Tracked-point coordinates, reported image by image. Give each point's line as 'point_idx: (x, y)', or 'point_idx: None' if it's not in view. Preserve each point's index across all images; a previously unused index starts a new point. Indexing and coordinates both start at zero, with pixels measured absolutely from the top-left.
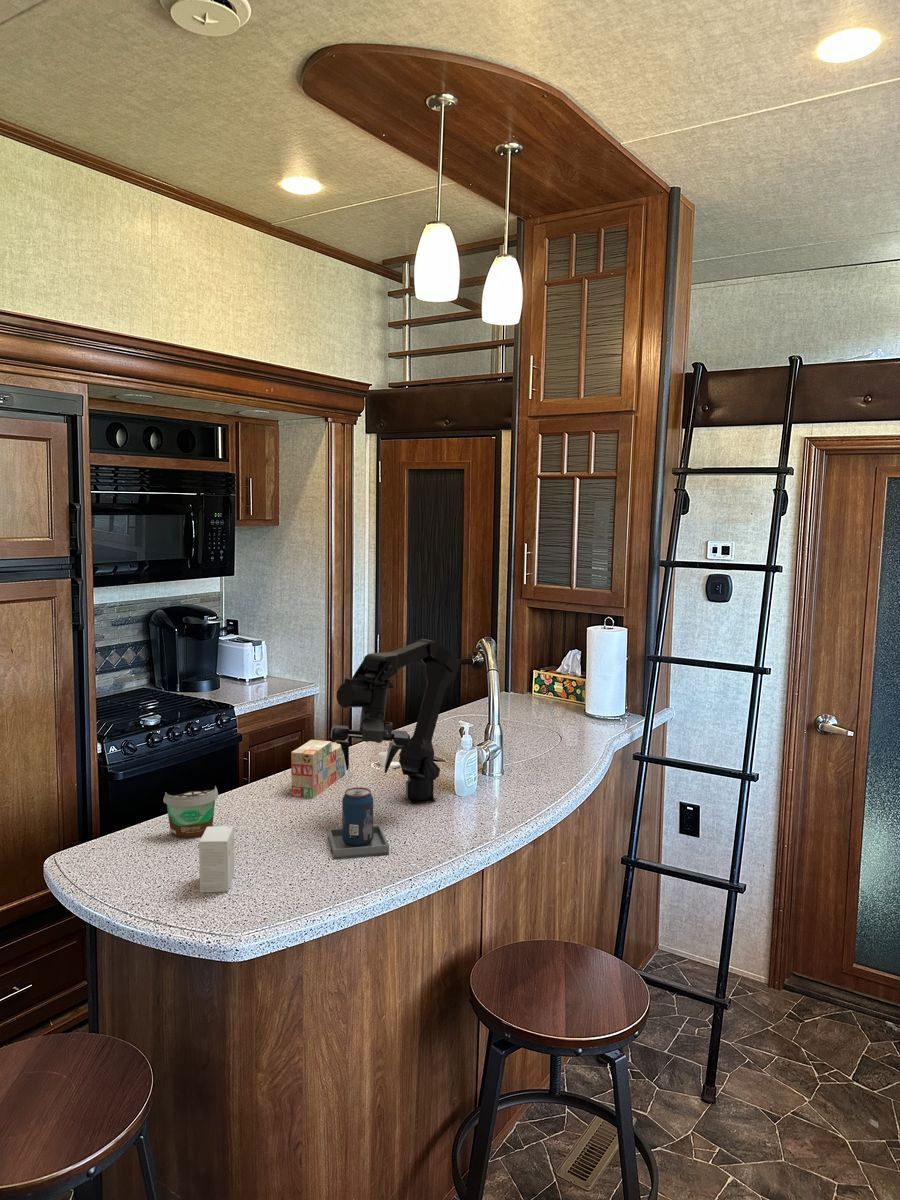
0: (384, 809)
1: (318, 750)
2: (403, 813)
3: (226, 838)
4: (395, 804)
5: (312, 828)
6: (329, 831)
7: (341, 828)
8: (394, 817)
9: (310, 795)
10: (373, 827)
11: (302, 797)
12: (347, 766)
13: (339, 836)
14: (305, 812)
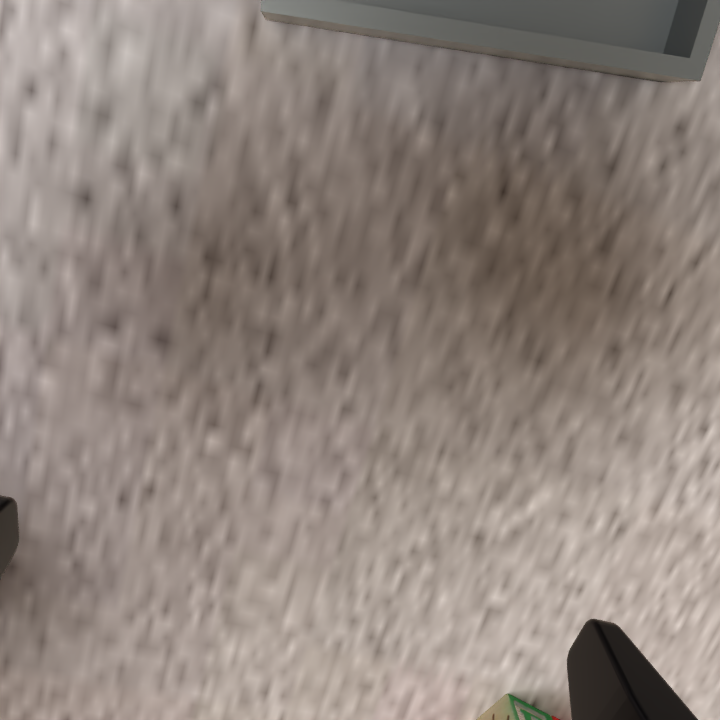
0: (141, 469)
1: None
2: (15, 370)
3: None
4: (53, 528)
5: (683, 294)
6: (716, 22)
7: (600, 58)
8: (93, 317)
9: (521, 715)
10: (328, 2)
11: (550, 716)
12: (633, 662)
13: (604, 31)
14: (615, 540)
